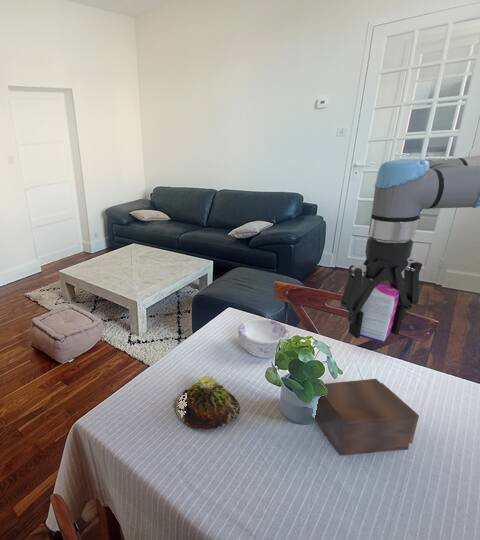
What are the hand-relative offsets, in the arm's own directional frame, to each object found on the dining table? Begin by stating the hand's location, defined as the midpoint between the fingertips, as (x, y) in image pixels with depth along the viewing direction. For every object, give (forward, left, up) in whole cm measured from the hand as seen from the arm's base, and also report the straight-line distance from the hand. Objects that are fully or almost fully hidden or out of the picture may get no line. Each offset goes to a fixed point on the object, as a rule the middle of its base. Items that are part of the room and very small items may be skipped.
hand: (373, 333), depth 78 cm
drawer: (+1, +8, -21) cm, 22 cm away
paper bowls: (+22, -21, -22) cm, 38 cm away
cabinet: (+3, +9, -22) cm, 23 cm away
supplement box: (0, 0, 0) cm, 0 cm away
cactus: (+37, +9, -22) cm, 44 cm away
